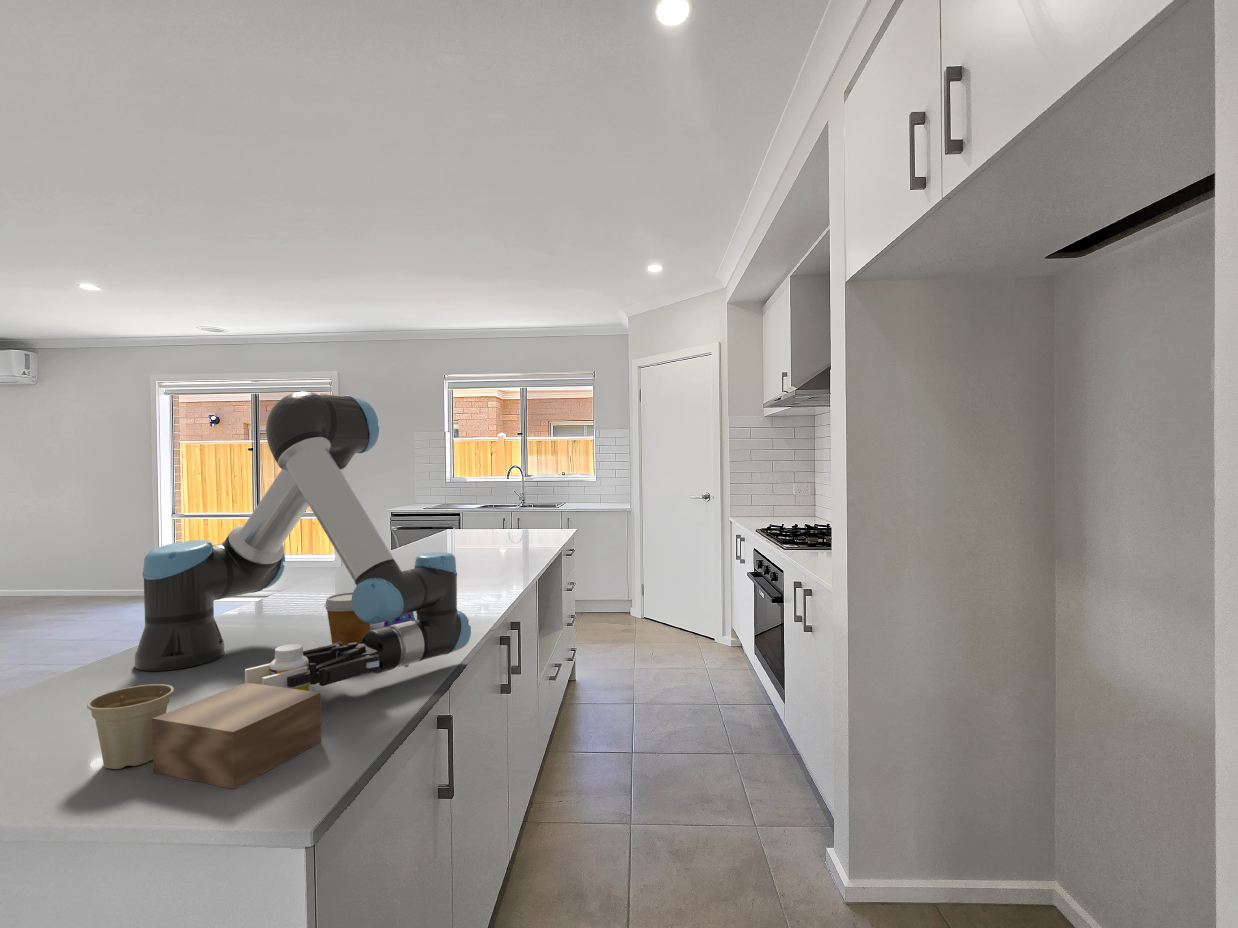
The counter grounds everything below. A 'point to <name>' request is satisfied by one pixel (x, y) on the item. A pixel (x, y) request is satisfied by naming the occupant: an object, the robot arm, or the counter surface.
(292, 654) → the supplement bottle
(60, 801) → the counter surface
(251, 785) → the counter surface
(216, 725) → the block
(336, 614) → the disposable coffee cup
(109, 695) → the flower pot
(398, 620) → the pudding
